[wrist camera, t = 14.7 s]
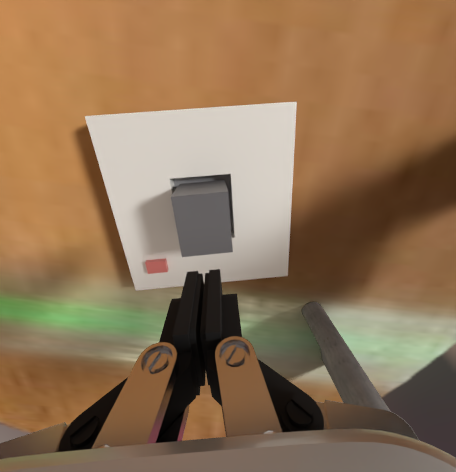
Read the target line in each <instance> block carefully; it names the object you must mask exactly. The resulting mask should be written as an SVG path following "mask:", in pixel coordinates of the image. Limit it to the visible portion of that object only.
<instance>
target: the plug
mask: <svg viewBox="0 0 456 472" xmlns="http://www.w3.org/2000/svg"><path fill="white" fill-rule="evenodd" d="M171 201H172V207H173V212H174V217H175V223H176V228H177V234H178V239H179V244H180V250H181V255H182V257H189V256H199V255H209V254H219V253H229V252H233V248H232V235H231V222H230V209H229V196H228V189H227V186H226V183H225V180H216V181H205V182H194V183H182V184H179V185H178V187H177V188H176V190H175V191H174V193H173V194H172V196H171Z"/></svg>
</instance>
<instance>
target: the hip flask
mask: <svg viewBox="0 0 456 472" xmlns="http://www.w3.org/2000/svg"><path fill="white" fill-rule="evenodd" d="M302 314H303V315H304V317H305V319H306V321H307V323H308V325H309V327H310V329H311V331H312V333H313V335H314V337H315V339H316V341H317V342H318V344H319V346H320V349H321V354H322V360H323V362H324V364H325V366H326V368H327V370H328V372H329V374H330V376H331V378H332V380H333V382H334V384H335V386H336V388H337V390H338V392H339V394H340V396H341V398H342V400H343V402H344V403H347V404H353V405H359V406H365V407H371V408H377V409H383V410H386V411H389V412H390V410H389V409H388V407H387V406H386V404H385V403H384V401H383V399H382V398H381V396H380V395H379V393H378V392H377V390H376V389H375V387H374V386H373V384H372V383H371V381H370V380H369V378H368V377H367V375H366V373H365V372H364V370H363V369H362V367H361V366H360V364H359V363H358V361H357V360H356V358H355V357H354V355H353V354H352V352H351V351H350V349H349V347H348V346H347V344H346V343H345V341H344V340H343V338H342V337H341V335H340V334H339V332H338V331H337V329H336V328H335V326H334V325H333V323H332V322H331V320H330V318H329V317H328V315H327V314H326V312H325V311H324V309H323V308H322V307H321V305H320V304H319V303H317V302H310V303H307V304H306V305H305V306H304V307H303V309H302Z"/></svg>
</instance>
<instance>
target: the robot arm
mask: <svg viewBox="0 0 456 472" xmlns="http://www.w3.org/2000/svg"><path fill="white" fill-rule="evenodd" d="M205 373H206V374H207V380H208V385H210V387H211V393H212V397H213V398H214V399H215V400H216V401H217V402H218V403H219V404H220V405H221V406H222V412H223V419H224V425H225V432H226V437H222V438H210V439H198V440H187V441H182V438H183V434H184V429H185V425H186V421H187V417H188V413H189V404H190V403H191V402H192V401H193V400H194V399H195V398H196V395H200V386H204V385H205ZM0 472H456V458H455V457H453V456H451V455H450V454H448V453H446V452H444V451H442V450H440V449H438V448H436V447H434V446H431V445H429V444H426V443H424V442H421V441H419V440H418V438H417V436H416V434H415V433H414V431H413V430H412V428H411V427H410V426H409V425H408V424H407V423H406V422H405V421H404V420H403V419H402V418H401V417H399V416H397V415H396V414H394V413H392V412H389V411H386V410H383V409H377V408H371V407H365V406H359V405H353V404H347V403H341V402H335V401H329V400H325V402H324V403H322V402H316V401H314V400H313V399H312V398H311V397H310V396H309V395H307V394H306V393H305V392H303V391H302V390H300V389H299V388H298V387H296V386H295V385H293V384H292V383H291V382H289V381H288V380H286V379H285V378H284V377H282V376H281V375H279V374H278V373H277V372H275V371H274V370H272V369H271V368H270V367H268V366H267V365H265V364H264V363H263V362H261V361H260V360H258V359H257V357H256V354H255V351H254V348H253V346H252V344H251V343H250V342H249V341H248V340H246V339H244V338H242V334H241V326H240V317H239V309H238V300H237V294H227V295H222V284H221V274H220V269H216V270H209V273H205V282H204V281H203V274H202V273H201V274H199V272H198V271H191V272H187V274H186V278H185V283H184V287H183V291H182V296H181V298H178V299H172V300H171V303H170V306H169V310H168V313H167V317H166V320H165V324H164V327H163V331H162V334H161V338H160V341H159V343H156V344H153V345H151V346H149V347H148V348H146V349H145V350H144V351H143V352H142V353H141V355H140V356H139V358H138V359H137V361H136V363H135V365H134V367H133V369H132V371H131V373H130V375H129V377H128V378H126V379H125V380H124V381H123V382H121V383H120V384H119V385H117V386H116V387H115V388H114V389H112V390H111V391H110V392H109V393H107V394H106V395H105V396H103V397H102V398H101V399H100V400H98V401H97V402H96V403H94V404H93V405H92V406H91V407H89V408H88V409H87V410H86V411H84V412H83V413H82V414H80V415H79V416H78V417H77V418H76V419H75V420H74V421H73V422H72V423H71V424H69V425H66V423H65V422H64V423H61V424H58V425H55V426H52V427H49V428H46V429H43V430H39V431H36V432H33V433H30V434H27V435H25V436H21V437H18V438H15V439H12V440H9V441H6V442H3V443H0Z"/></svg>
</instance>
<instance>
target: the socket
mask: <svg viewBox="0 0 456 472" xmlns="http://www.w3.org/2000/svg"><path fill="white" fill-rule="evenodd" d="M296 105H297V102H285V103H270V104H256V105H241V106H227V107H212V108H197V109H183V110H168V111H154V112H139V113H125V114H110V115H96V116H85V119H86V122H87V125H88V129H89V132H90V136H91V139H92V143H93V146H94V149H95V153H96V156H97V160H98V163H99V167H100V170H101V173H102V177H103V180H104V184H105V187H106V190H107V194H108V197H109V201H110V204H111V208H112V211H113V214H114V218H115V221H116V225H117V228H118V232H119V235H120V238H121V242H122V245H123V249H124V252H125V256H126V259H127V262H128V266H129V269H130V273H131V276H132V280H133V283H134V286H135V290H147V289H157V288H167V287H178V286H184V283H185V278H186V274H187V272H191V271H198V272H199V274H201V273H202V274H203V281H204V282H205V273H209V270H216V269H220V274H221V282H229V281H240V280H250V279H260V278H271V277H281V276H288V261H289V241H290V222H291V202H292V183H293V163H294V144H295V124H296ZM216 180H225V183H226V186H227V189H228V196H229V209H230V222H231V235H232V248H233V252H229V253H219V254H209V255H199V256H189V257H182V255H181V250H180V244H179V239H178V234H177V228H176V223H175V217H174V212H173V207H172V201H171V196H172V194H173V193H174V191H175V190H176V188H177V187H178V185H179V184H182V183H194V182H205V181H216Z"/></svg>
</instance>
